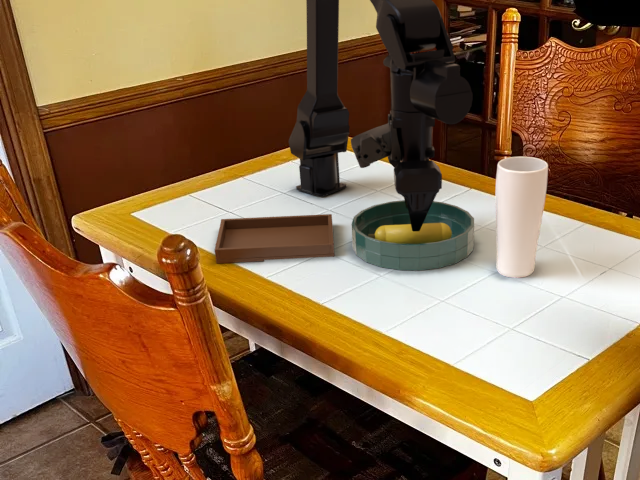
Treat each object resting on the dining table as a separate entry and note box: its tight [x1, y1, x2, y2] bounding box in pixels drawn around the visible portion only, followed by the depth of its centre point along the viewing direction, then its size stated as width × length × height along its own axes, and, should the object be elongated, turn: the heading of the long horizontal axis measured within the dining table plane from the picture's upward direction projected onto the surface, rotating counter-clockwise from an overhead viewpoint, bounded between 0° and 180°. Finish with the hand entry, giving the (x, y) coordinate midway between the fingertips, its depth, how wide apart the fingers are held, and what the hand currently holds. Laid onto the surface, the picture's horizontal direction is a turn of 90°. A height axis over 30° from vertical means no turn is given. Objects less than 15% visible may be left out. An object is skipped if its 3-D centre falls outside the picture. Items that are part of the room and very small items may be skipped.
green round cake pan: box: [350, 199, 475, 271], centre depth 125 cm, size 18×18×4 cm
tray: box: [214, 213, 335, 264], centre depth 127 cm, size 17×12×2 cm
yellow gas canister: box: [368, 223, 452, 244], centre depth 125 cm, size 12×3×3 cm, turn 95°
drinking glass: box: [494, 155, 549, 279], centre depth 115 cm, size 7×7×15 cm
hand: (412, 219), depth 124 cm, fingers open, 9 cm apart
